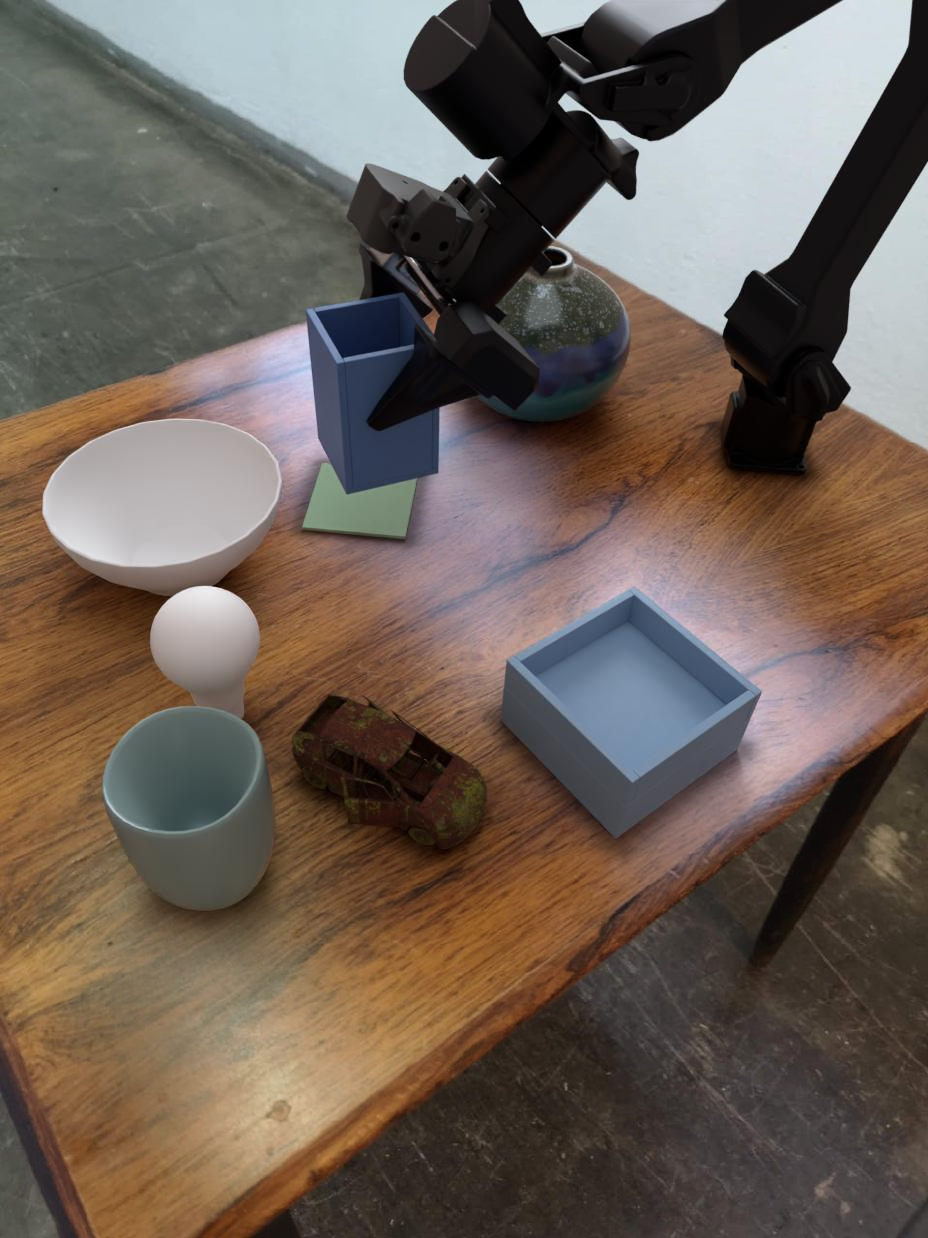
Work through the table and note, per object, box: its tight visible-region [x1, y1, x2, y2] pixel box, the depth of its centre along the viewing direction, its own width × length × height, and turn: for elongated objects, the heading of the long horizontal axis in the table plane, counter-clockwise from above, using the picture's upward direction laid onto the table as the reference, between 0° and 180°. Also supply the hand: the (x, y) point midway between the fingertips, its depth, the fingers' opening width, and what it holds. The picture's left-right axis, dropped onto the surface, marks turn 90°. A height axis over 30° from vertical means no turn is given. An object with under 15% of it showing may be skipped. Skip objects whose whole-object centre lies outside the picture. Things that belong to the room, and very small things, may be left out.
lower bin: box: [500, 585, 763, 839], centre depth 59 cm, size 11×11×6 cm
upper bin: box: [305, 293, 441, 495], centre depth 63 cm, size 7×7×10 cm
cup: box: [101, 705, 277, 912], centre depth 50 cm, size 8×8×10 cm
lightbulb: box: [149, 586, 261, 720], centre depth 57 cm, size 6×6×11 cm
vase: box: [476, 245, 632, 423], centre depth 82 cm, size 15×15×13 cm
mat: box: [301, 462, 419, 540], centre depth 76 cm, size 8×8×1 cm
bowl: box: [41, 418, 283, 597], centre depth 68 cm, size 16×16×7 cm
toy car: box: [291, 694, 488, 850], centre depth 56 cm, size 12×7×5 cm, turn 60°
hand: (354, 397), depth 62 cm, fingers closed on upper bin, 6 cm apart
